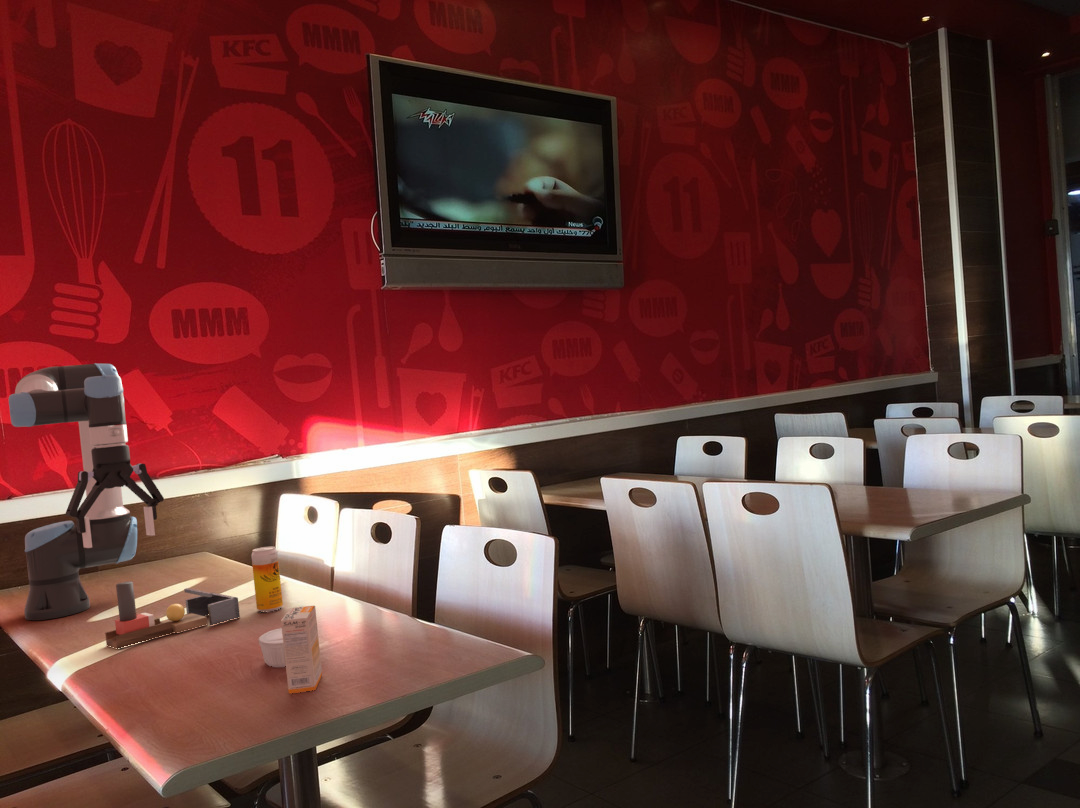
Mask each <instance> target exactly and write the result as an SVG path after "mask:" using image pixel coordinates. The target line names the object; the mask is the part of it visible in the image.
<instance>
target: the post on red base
mask: <svg viewBox="0 0 1080 808" xmlns="http://www.w3.org/2000/svg"><path fill="white" fill-rule="evenodd" d="M115 589H116V597H117V606H118V615H119V617H118V619H115V620H114V625H115V630H116V634H119V635H121V634H125V633H129V632H132V631H136V630H140V629H143V628H147V627H151V626H154V625H155V622H154V619H155V615H154V614H151V613H148V612H141V613H138V614H137V609H136V599H135V589H134V582H133V581H123V582H119V583H116V584H115Z"/></svg>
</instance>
